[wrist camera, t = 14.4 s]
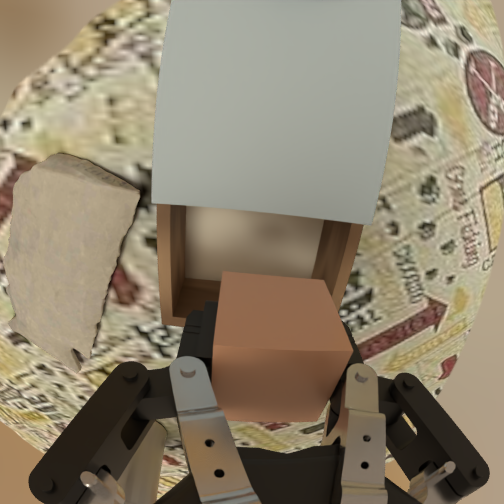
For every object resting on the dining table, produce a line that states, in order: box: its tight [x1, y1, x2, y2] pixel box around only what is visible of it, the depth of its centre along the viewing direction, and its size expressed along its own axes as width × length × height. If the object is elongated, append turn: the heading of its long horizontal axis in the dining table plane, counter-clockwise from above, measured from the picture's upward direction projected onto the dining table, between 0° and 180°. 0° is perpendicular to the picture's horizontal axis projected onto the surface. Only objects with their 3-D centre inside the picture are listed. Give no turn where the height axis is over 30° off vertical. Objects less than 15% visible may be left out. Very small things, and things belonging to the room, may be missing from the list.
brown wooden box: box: [157, 204, 364, 327], centre depth 19 cm, size 16×12×6 cm
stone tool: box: [3, 153, 140, 374], centre depth 23 cm, size 13×4×25 cm
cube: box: [211, 271, 353, 422], centre depth 12 cm, size 4×4×4 cm
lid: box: [152, 0, 401, 225], centre depth 10 cm, size 16×12×5 cm
